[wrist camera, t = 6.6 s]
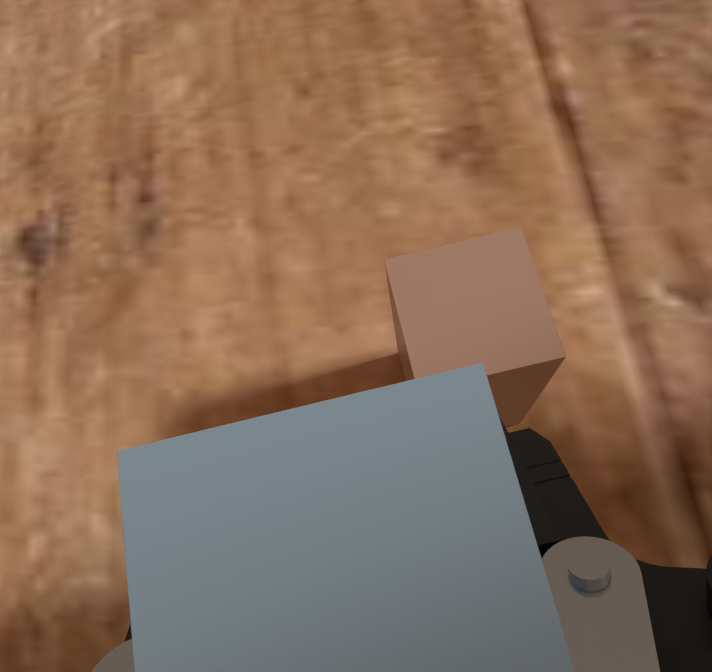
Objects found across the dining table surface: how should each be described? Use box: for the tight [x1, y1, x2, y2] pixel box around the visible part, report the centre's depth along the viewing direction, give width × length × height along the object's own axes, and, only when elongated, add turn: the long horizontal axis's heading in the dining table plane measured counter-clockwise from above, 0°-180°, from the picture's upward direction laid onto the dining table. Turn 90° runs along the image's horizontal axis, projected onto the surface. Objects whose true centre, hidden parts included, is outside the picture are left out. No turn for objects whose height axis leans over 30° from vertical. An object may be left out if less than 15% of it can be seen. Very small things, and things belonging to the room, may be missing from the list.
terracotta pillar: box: [384, 227, 566, 426], centre depth 24 cm, size 4×4×10 cm
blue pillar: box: [117, 363, 575, 672], centre depth 11 cm, size 4×4×10 cm
